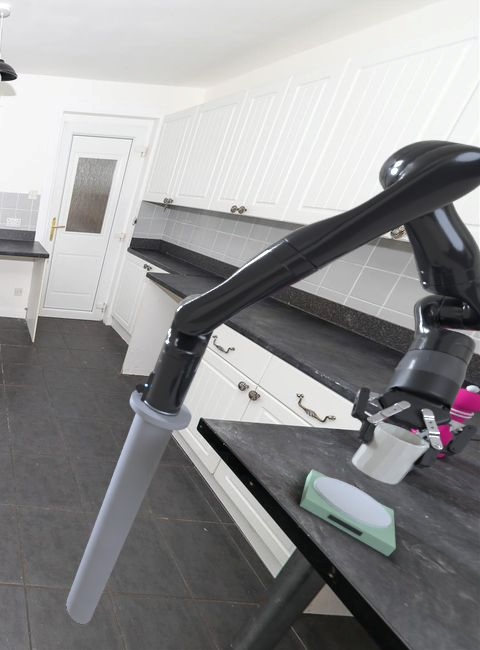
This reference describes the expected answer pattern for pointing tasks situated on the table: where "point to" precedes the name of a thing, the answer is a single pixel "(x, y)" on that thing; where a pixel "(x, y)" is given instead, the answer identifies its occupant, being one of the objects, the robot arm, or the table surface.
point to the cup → (389, 453)
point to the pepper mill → (460, 411)
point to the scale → (350, 511)
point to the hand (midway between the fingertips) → (390, 454)
